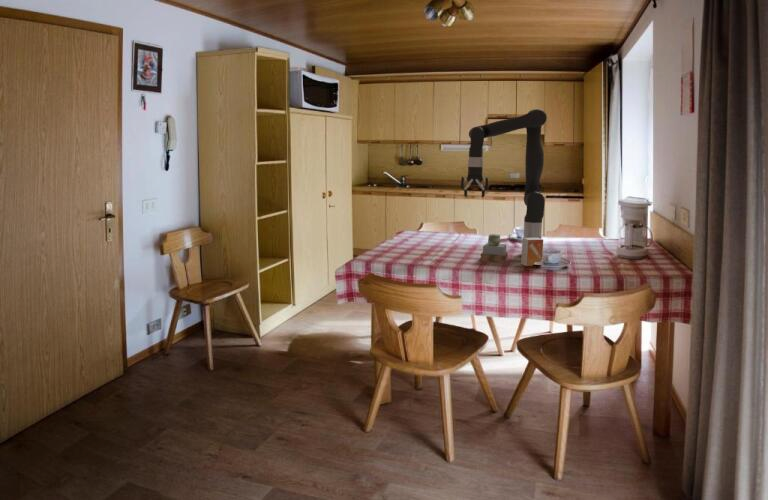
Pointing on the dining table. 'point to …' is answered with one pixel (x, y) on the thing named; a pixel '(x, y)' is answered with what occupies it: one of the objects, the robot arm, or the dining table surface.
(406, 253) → the dining table surface
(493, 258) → the walnut base block
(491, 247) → the slate top block
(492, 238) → the sage cube
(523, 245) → the small box
